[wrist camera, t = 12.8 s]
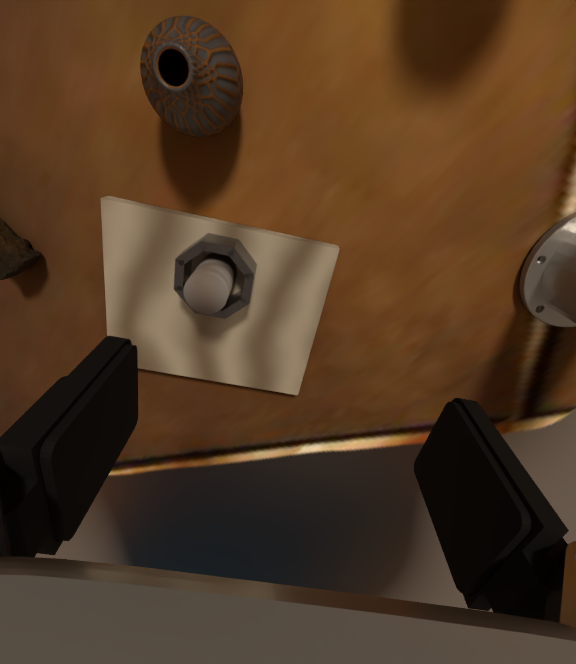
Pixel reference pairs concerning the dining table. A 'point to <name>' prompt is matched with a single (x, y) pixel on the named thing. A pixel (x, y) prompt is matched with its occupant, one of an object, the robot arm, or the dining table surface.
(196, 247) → the ring
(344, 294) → the dining table surface
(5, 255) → the hand tool
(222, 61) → the vase
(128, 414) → the robot arm
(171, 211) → the board
